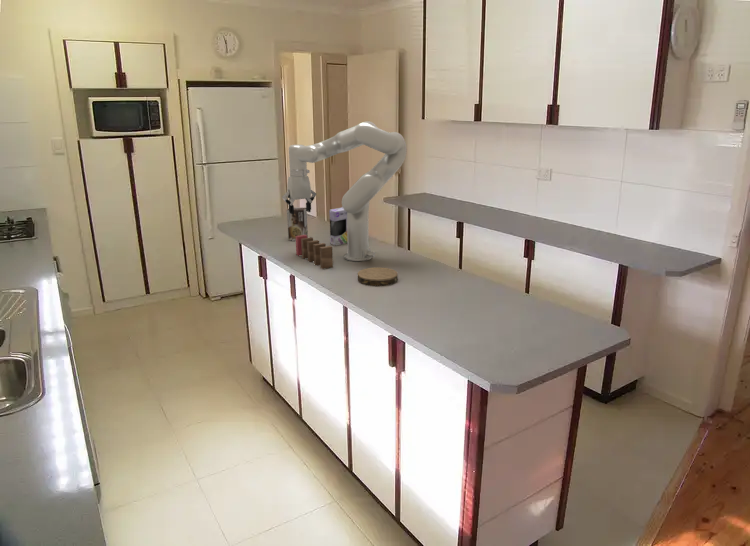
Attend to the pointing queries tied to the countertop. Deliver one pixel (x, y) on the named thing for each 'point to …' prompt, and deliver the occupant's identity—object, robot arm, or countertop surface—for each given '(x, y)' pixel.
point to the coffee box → (297, 223)
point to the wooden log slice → (377, 276)
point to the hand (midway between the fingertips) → (300, 212)
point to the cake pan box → (338, 226)
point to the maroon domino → (299, 244)
